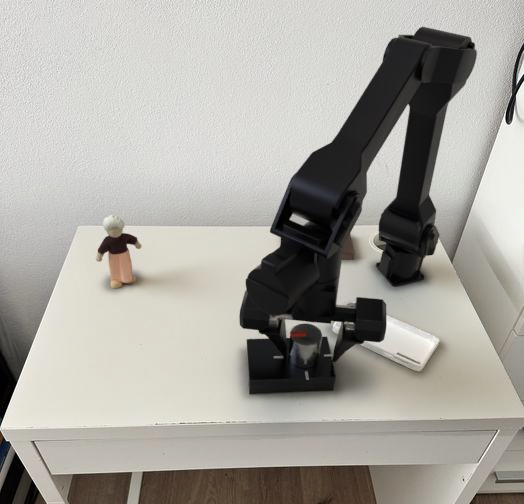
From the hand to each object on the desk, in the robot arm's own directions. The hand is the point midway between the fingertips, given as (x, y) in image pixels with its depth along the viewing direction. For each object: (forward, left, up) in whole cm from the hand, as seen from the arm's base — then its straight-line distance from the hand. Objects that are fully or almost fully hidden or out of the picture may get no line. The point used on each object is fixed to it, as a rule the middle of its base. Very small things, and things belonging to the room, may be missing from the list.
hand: (309, 357), depth 76 cm
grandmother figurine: (+21, -30, -3) cm, 37 cm away
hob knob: (+1, 0, 0) cm, 1 cm away
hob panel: (+3, -1, -3) cm, 4 cm away
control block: (-15, -27, -3) cm, 31 cm away
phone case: (-14, -2, -3) cm, 15 cm away
